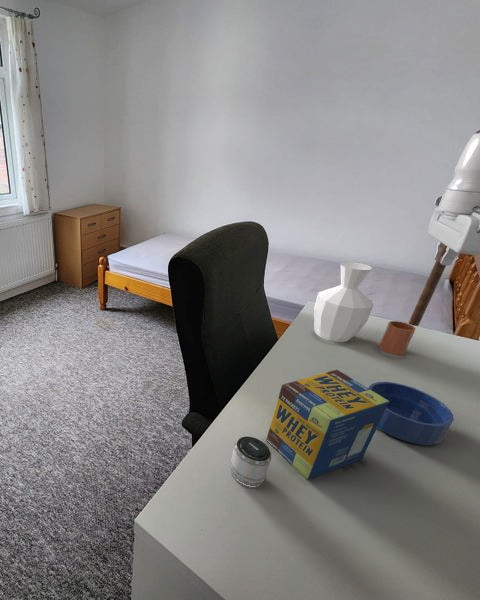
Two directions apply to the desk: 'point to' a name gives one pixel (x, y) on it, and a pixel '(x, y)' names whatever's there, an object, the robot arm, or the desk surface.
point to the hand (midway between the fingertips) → (441, 262)
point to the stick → (428, 290)
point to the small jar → (250, 461)
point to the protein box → (324, 422)
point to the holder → (397, 337)
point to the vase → (343, 305)
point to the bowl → (412, 414)
